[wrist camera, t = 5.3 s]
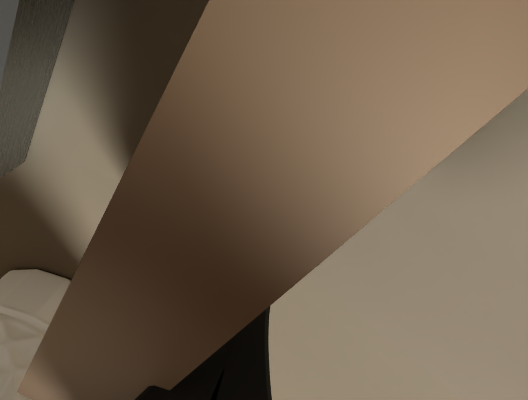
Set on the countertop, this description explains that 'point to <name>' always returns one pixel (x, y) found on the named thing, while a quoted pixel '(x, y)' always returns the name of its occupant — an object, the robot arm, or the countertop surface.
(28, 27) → the slanted bar
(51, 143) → the countertop surface
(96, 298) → the picture frame
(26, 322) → the white cup
